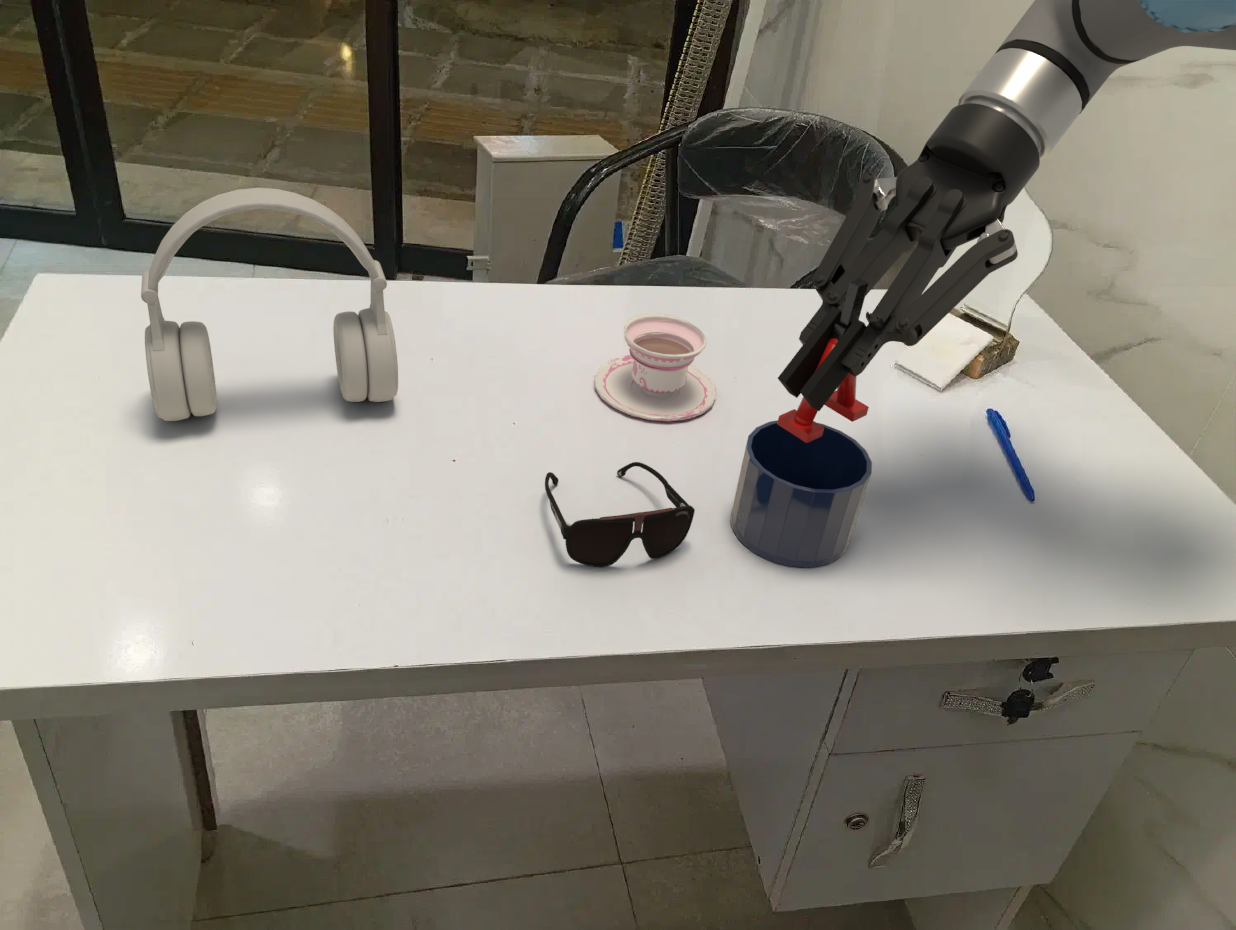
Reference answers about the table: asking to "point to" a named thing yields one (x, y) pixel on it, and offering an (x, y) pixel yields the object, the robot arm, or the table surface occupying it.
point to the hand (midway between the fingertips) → (798, 394)
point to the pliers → (845, 395)
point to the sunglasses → (624, 528)
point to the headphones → (185, 351)
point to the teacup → (658, 371)
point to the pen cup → (799, 495)
